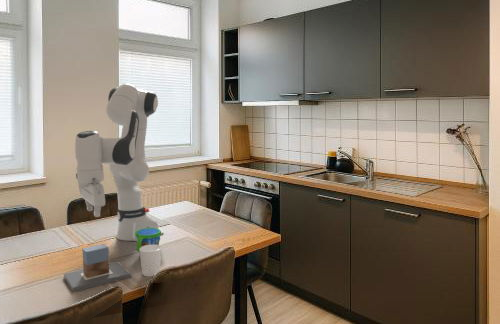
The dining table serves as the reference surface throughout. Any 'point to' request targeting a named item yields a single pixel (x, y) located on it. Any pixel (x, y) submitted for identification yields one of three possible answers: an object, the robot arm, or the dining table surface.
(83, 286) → the baseplate
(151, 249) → the white cup
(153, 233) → the snack cup
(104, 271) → the walnut brick
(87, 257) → the blue brick
